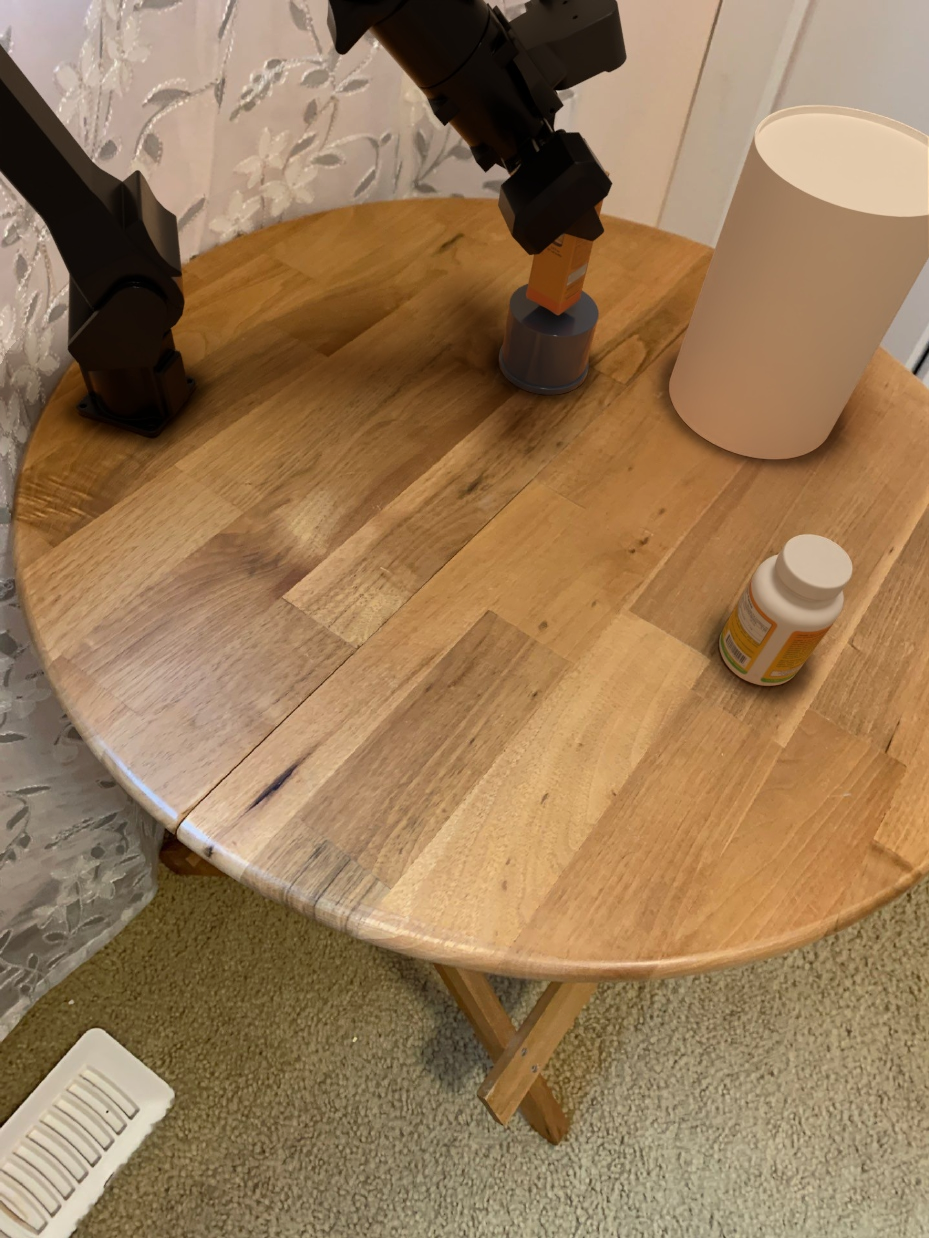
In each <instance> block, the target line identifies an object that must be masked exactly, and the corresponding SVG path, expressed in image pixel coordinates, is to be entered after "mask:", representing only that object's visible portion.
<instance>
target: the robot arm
mask: <svg viewBox="0 0 929 1238" xmlns="http://www.w3.org/2000/svg"><path fill="white" fill-rule="evenodd" d="M523 5H524V8H525V12H523V13H522V14H519V15H518V16H516V17H515V18H513V19H511V20H508V18H506V16H505V15H504V13H503V12H502V10H501V9H500V8H499V6H498V5H497V4H495V6H494V7H492V6H491V4H490V3H489V2H487V3H486V1H485V0H327V17H326V25H327V29H328V32H329V34H330V38H331V40H332V43H333V47H334V50H335V52H336V54H338V55H342V56H344V55H347V54H348V53H349V52H350V51H351V49H352V48H354V46H355V45H356V44H357V43H358V42H359V40H360V39H362V38H363V36H365V34H366V33H367V32H370V34H371V35H372V36H373V37H374V39H376V41H377V42H378V43H379V44H380V45H381V46H382V48H383V49H384V50H385V51H386V52H387V53H388V55H390V57H392V59H393V60H394V61H395V63H397V65H398V66H399V67H400V68H401V69H402V70H403V72H404V73H405V74H406V75H407V76H408V77H409V78H410V80H411V81H412V82H413V83H414V84H415V85H416V87H418V89H419V90H420V91H421V92H422V93H423V94H424V96H425V97H426V99H427V101H428V104H429V106H430V109H431V112H432V113H433V115H434V116H435V118H437V119H438V121H439V122H440V123H441V124H442V125H443V127H446V126H447V125H448V124H450V125H451V127H453V129H454V130H455V132H457V133H458V135H459V136H460V137H461V138H462V139H463V140H464V142H466V144H467V145H468V148H469V151H470V152H471V155H472V156H473V159H474V161H475V163H476V164H477V165H478V166H479V168H480V169H481V170H482V171H483V172H484V173H485V174H486V173H487V172H489V170H491V169H492V168H493V167H494V166H495V165H497V166H498V167H501V168H502V169H504V170H506V172H507V174H508V175H509V177H508V178H507V179H506V180H504V182H503V183H501V184H500V188H499V196H498V203H497V207H498V209H499V211H500V213H501V215H502V217H503V220H504V222H505V224H506V227H507V229H508V231H509V234H510V235H511V237H512V238H513V239H514V241H515V242H516V243H517V244H518V245H519V246H520V247H521V248H522V249H523V250H524V252H526V254H528V255H529V256H534V255H536V254H540V253H541V252H542V251H543V250H545V249H546V248H547V247H548V246H549V245H550V244H552V243H553V242H554V241H555V240H556V239H557V238H559V237H560V236H561V235H562V234H563V233H564V234H567V235H571V236H574V237H578V238H581V239H585V240H588V241H593V242H594V241H596V240H597V239H599V237H601V236H602V235H603V234H604V233H605V228H604V226H603V224H602V221H601V219H600V216H598V214H597V211H596V209H595V206H596V205H597V204H598V203H599V202H601V201H602V200H603V201H604V200H605V198H606V197H608V196H609V193H610V191H611V188H612V185H613V181H612V179H611V178H610V176H609V177H608V175H607V173H606V172H605V171H606V170H605V168H604V167H603V164H602V163H601V162H600V160H599V158H598V156H596V154H595V153H594V151H593V149H592V147H590V145H589V143H588V142H587V140H586V138H585V137H583V135H582V134H581V133H580V132H579V131H574V132H573V131H569V132H567V131H566V130H565V129H564V128H559V129H557V130H555V121H556V114H557V113H558V112H559V111H560V110H562V108H563V107H564V106H565V104H564V103H563V102H562V100H561V98H560V97H559V93H558V92H562V91H566V90H569V89H571V88H574V87H576V86H578V85H579V84H582V83H584V82H586V81H588V80H590V79H592V78H594V77H596V76H598V75H600V74H602V73H604V72H606V73H612V72H614V71H616V70H618V69H619V68H621V67H622V66H623V65H624V64H625V62H626V61H627V58H628V56H627V50H626V45H625V39H624V33H623V27H622V22H621V16H620V10H619V3H618V1H617V0H528V1H526V2H524V3H523ZM0 173H1V174H2V175H3V176H4V178H5V179H6V180H7V181H8V182H9V183H10V184H11V186H12V187H13V188H14V189H15V190H16V191H17V192H18V194H20V196H21V197H22V198H23V199H24V200H25V201H26V202H27V204H28V205H29V206H30V207H31V208H32V209H33V210H34V211H35V213H36V214H37V215H38V216H39V217H40V218H41V219H42V221H43V222H44V224H45V226H46V227H47V229H48V231H49V234H50V235H51V237H52V240H53V243H54V244H55V247H56V249H57V251H58V253H59V255H60V258H61V260H62V262H63V264H64V266H65V268H66V270H67V271H68V311H67V313H68V314H67V316H68V317H67V318H68V319H67V351H68V353H69V354H70V356H71V357H72V358H73V359H74V360H75V361H76V363H77V364H78V367H79V369H80V373H81V375H82V378H83V379H82V380H83V382H84V385H85V387H86V391H87V393H86V394H85V395H84V396H83V397H82V398H81V400H79V402H78V403H77V404H76V405H75V406H76V407H75V408H76V410H77V413H78V414H79V415H82V416H85V417H88V418H91V419H94V420H98V421H100V422H103V423H106V424H110V425H113V426H116V427H119V428H122V429H126V430H129V431H131V432H135V433H138V434H141V435H145V436H147V437H155V436H157V435H159V434H160V433H161V432H162V430H163V429H164V428H165V426H166V425H167V424H168V423H169V422H170V420H171V419H172V418H173V417H174V416H176V414H177V413H178V411H180V408H182V406H183V405H184V404H185V402H186V401H187V400H188V399H189V397H191V394H192V393H193V392H194V390H196V388H197V380H196V378H195V377H191V376H189V375H186V369H185V365H184V361H183V356H182V353H181V351H180V350H177V348H176V343H175V340H174V335H173V330H172V328H173V327H175V326H176V325H177V323H178V322H179V321H180V320H181V318H182V316H183V314H184V308H185V305H186V304H185V303H186V300H185V292H184V291H185V289H184V279H183V270H182V258H181V248H180V238H179V228H178V217H177V215H176V214H174V213H173V212H172V211H170V210H169V209H167V208H166V207H165V206H164V205H163V204H162V203H161V202H160V201H159V200H158V198H157V197H156V196H155V194H154V192H153V190H152V189H151V186H150V185H149V183H148V181H147V179H146V178H145V176H144V174H143V172H141V171H140V170H139V169H136V170H134V171H133V172H132V173H131V174H129V175H128V176H127V177H126V178H124V180H123V181H122V180H121V179H119V178H117V177H115V176H114V175H112V174H110V173H109V172H108V171H105V170H104V169H102V168H101V167H99V166H98V165H97V164H96V163H95V162H94V161H93V160H92V159H91V158H90V157H89V155H88V154H87V152H85V150H84V149H83V147H82V146H81V145H80V144H79V143H78V141H77V140H76V139H75V137H74V136H73V135H72V134H71V132H70V131H69V130H68V128H67V127H66V126H65V125H64V123H63V122H62V121H61V120H60V118H59V117H58V115H57V114H56V113H55V112H54V110H53V109H52V107H50V105H49V104H48V102H47V101H46V100H45V99H44V98H43V97H42V95H41V94H40V92H39V91H38V90H37V88H35V86H34V85H33V84H32V82H31V81H30V80H29V78H27V76H26V74H25V73H24V72H23V71H22V70H21V68H20V67H19V66H18V65H17V63H16V62H15V60H13V58H12V57H11V56H10V54H9V53H8V52H7V51H6V49H5V47H3V46H2V44H1V43H0Z"/></svg>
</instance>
